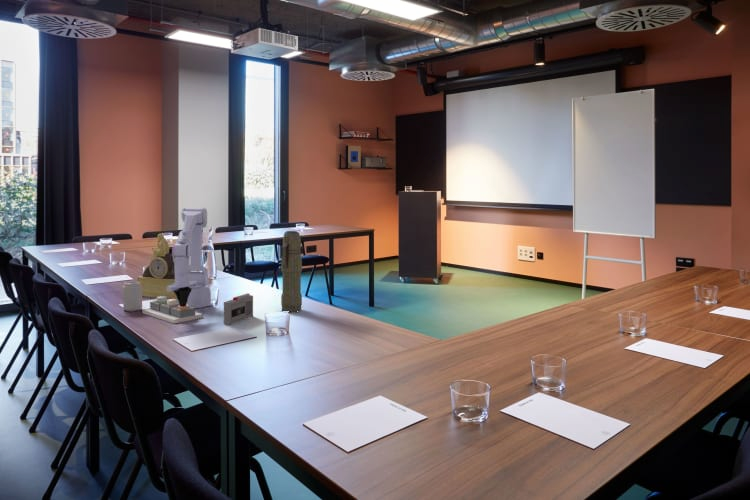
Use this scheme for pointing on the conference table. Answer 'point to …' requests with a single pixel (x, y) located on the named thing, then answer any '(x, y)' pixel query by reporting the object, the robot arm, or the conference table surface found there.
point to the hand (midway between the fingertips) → (182, 306)
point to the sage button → (161, 299)
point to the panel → (171, 312)
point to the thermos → (291, 272)
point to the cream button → (172, 302)
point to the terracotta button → (182, 307)
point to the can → (132, 296)
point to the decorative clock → (159, 272)
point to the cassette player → (238, 309)
